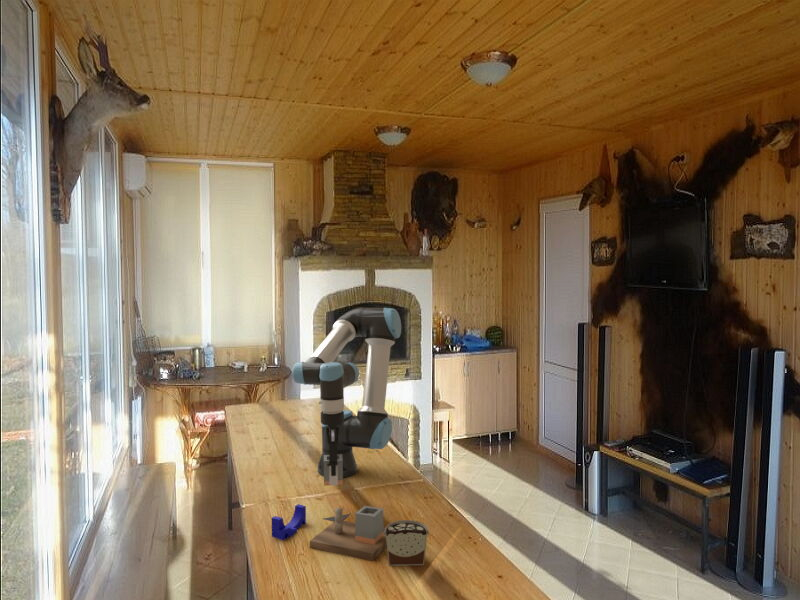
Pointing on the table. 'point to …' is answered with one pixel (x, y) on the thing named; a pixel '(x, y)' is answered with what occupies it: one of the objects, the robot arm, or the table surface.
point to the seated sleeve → (369, 525)
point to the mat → (334, 517)
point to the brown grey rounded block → (406, 542)
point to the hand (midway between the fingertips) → (333, 480)
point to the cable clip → (291, 528)
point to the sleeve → (340, 469)
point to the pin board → (346, 540)
